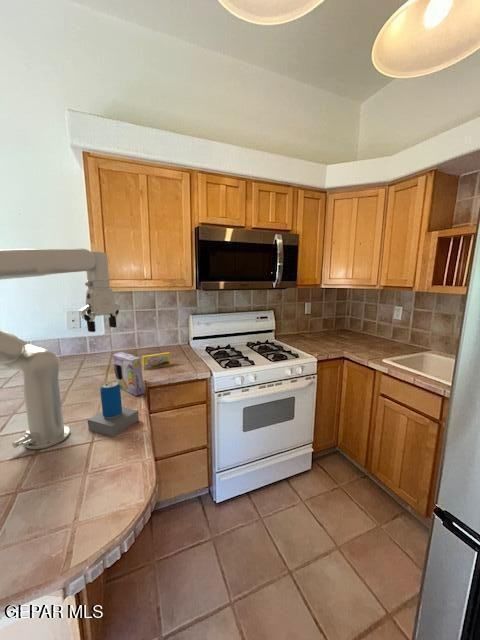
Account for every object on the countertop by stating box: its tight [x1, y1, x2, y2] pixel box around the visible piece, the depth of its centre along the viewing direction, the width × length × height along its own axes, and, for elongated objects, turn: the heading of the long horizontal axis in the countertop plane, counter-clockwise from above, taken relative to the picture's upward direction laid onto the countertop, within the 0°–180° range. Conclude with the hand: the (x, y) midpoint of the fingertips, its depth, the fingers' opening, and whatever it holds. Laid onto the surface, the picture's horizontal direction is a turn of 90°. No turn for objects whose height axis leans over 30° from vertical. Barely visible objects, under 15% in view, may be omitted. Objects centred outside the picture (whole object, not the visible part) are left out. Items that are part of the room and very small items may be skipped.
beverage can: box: [99, 380, 123, 419], centre depth 99 cm, size 6×6×12 cm
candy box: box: [142, 351, 171, 371], centre depth 165 cm, size 16×2×8 cm, turn 123°
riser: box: [87, 406, 139, 438], centre depth 100 cm, size 12×12×4 cm
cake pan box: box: [112, 351, 145, 397], centre depth 131 cm, size 19×5×18 cm, turn 50°
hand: (102, 329), depth 106 cm, fingers open, 9 cm apart
